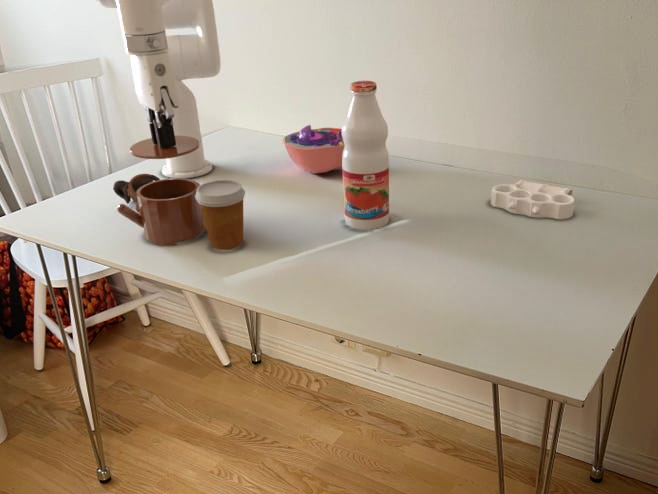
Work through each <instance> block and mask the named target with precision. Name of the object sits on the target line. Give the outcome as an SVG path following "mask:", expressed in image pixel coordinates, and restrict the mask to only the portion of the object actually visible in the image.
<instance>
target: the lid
mask: <svg viewBox="0 0 658 494" xmlns="http://www.w3.org/2000/svg"><path fill="white" fill-rule="evenodd" d="M153 122H154V128H155V133H156V138H157V144H156V145H155V144H153V141H152V137H149V138H146V139H143V140H140V141H138V142H135V143H133V144H132V145H131V146H129V154H130V155H131V156H133V157H136V158H138V159H144V160H145V159H146V160H166V159H167V158H174V157H178V156H182V155H185V154H188V153H191V152H193V151H195V150H197V149H198V148H199V146H200V142H199V141H198V140H197V139H196V138H193V137H188V136H175V140H176V145H175V146H173V147H168V148H163V149H162V148H160V146H159V141H158V136H157V130H156V127H158V125H157V121H156V119H154V120H153Z"/></svg>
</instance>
